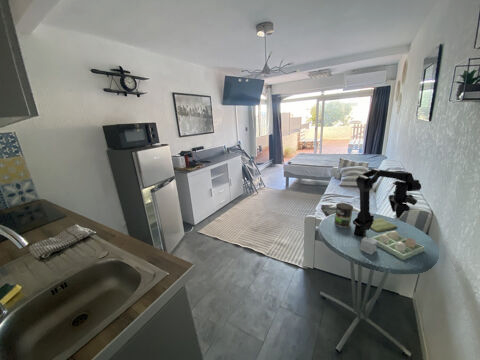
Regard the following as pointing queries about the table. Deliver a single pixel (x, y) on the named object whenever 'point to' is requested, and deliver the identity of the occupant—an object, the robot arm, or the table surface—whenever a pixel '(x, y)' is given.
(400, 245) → the egg
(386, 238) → the egg
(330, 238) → the table surface
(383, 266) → the table surface
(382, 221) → the washcloth
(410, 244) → the brown egg
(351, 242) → the table surface
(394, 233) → the egg
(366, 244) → the skincare box
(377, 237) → the egg tray
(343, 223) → the coffee can
